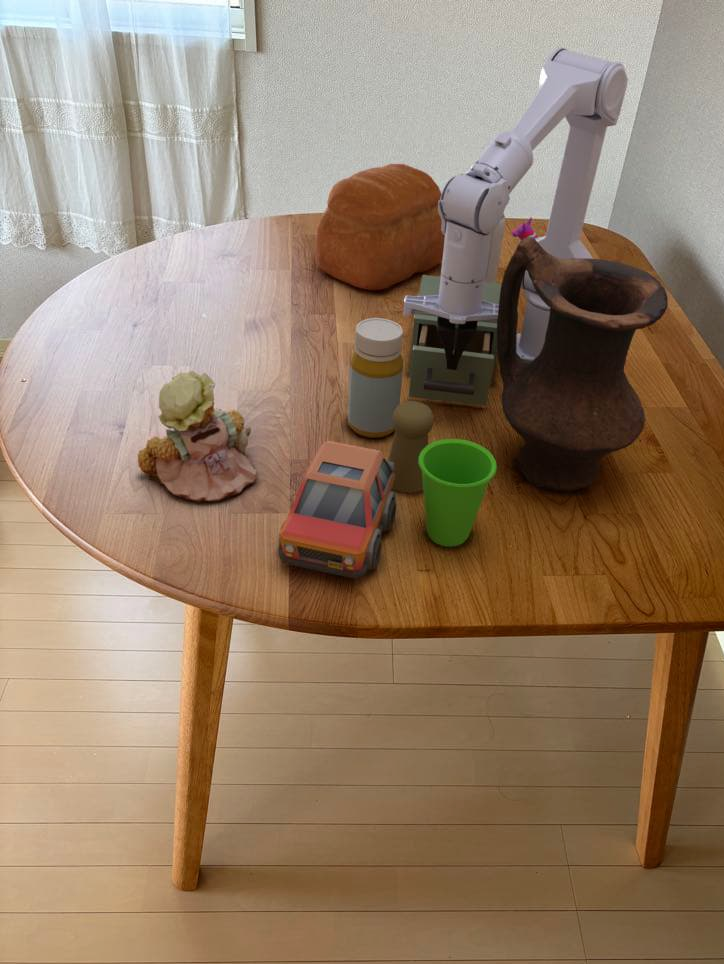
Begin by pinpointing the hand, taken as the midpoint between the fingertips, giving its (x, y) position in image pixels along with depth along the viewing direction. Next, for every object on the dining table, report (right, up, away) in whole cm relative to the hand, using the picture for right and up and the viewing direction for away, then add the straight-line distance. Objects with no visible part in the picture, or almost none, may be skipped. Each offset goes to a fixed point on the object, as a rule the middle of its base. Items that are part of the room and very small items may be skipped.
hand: (451, 365), depth 126 cm
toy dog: (+20, +22, +40) cm, 50 cm away
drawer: (0, -1, +10) cm, 10 cm away
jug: (+13, -14, -2) cm, 19 cm away
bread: (-11, +26, +40) cm, 49 cm away
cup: (-1, -23, -14) cm, 27 cm away
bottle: (-11, -8, +2) cm, 14 cm away
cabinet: (+1, +5, +18) cm, 19 cm away
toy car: (-14, -24, -16) cm, 32 cm away
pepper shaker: (-6, -16, -6) cm, 19 cm away
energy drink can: (+6, +20, +36) cm, 42 cm away
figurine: (-32, -16, -9) cm, 37 cm away
